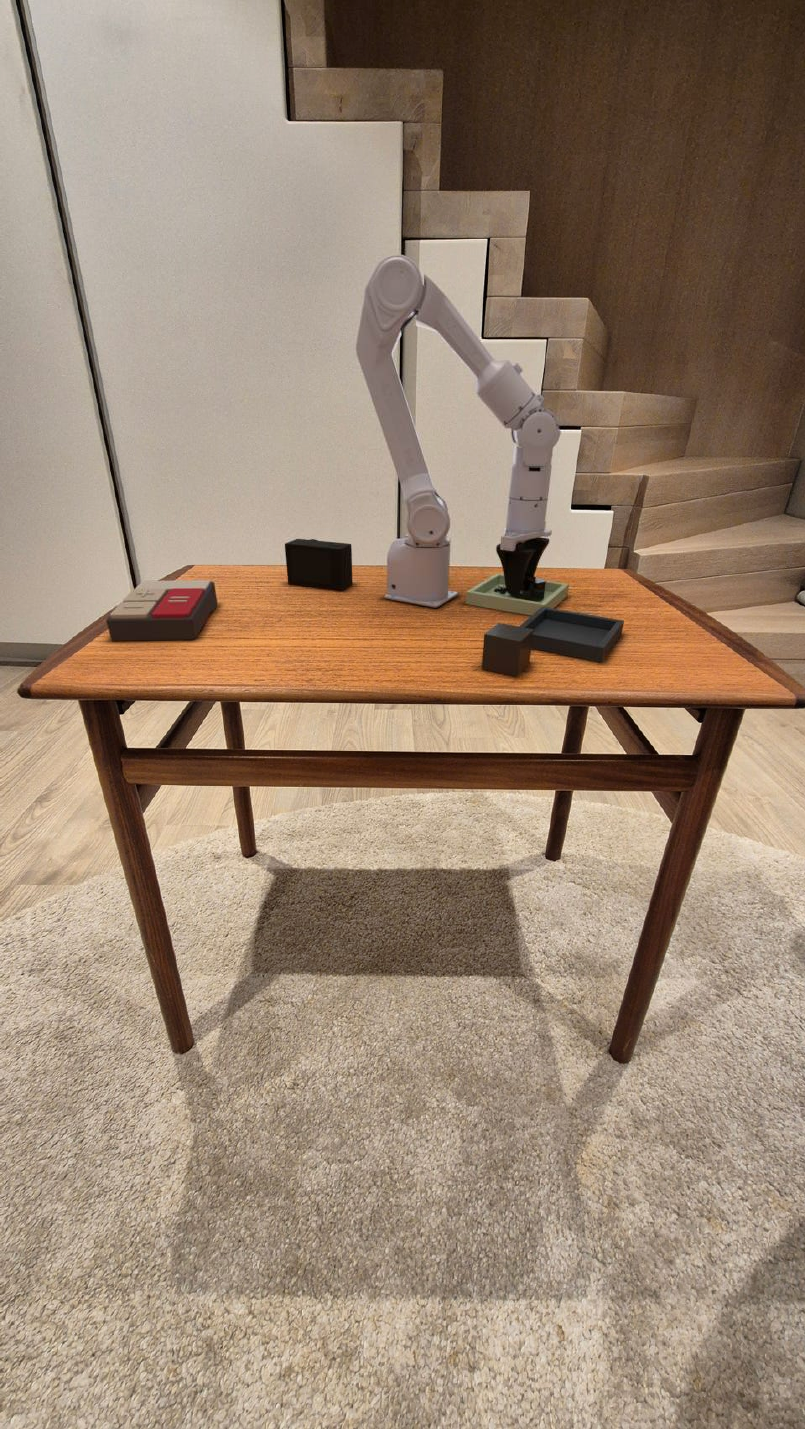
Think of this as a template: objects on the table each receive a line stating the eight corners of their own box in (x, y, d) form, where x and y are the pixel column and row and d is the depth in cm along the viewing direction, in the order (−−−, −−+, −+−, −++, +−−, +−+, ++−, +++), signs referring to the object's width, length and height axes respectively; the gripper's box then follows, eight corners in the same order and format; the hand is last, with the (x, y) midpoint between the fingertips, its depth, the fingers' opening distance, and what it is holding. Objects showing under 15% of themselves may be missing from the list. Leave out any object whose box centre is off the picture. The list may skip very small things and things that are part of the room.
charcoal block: (481, 669, 72) (484, 633, 70) (495, 656, 75) (498, 622, 73) (516, 677, 70) (520, 641, 68) (529, 664, 73) (533, 629, 71)
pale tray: (465, 604, 94) (466, 591, 93) (495, 584, 104) (496, 573, 103) (543, 617, 88) (544, 604, 88) (567, 596, 98) (569, 584, 97)
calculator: (103, 614, 77) (139, 576, 89) (111, 645, 79) (145, 604, 92) (190, 613, 77) (214, 576, 90) (196, 644, 79) (218, 603, 92)
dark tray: (512, 644, 79) (514, 630, 78) (540, 619, 88) (542, 606, 87) (601, 662, 74) (604, 647, 73) (621, 634, 83) (624, 620, 82)
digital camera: (356, 582, 104) (355, 541, 100) (342, 591, 99) (341, 548, 96) (303, 576, 107) (300, 536, 103) (287, 584, 102) (284, 543, 99)
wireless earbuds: (514, 590, 99) (516, 570, 97) (545, 601, 93) (547, 581, 92) (492, 594, 96) (494, 574, 95) (522, 606, 91) (525, 585, 90)
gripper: (538, 507, 81) (527, 604, 88) (568, 494, 92) (557, 580, 99) (490, 502, 84) (483, 596, 91) (525, 490, 95) (516, 574, 102)
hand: (518, 587), depth 95 cm, fingers closed on wireless earbuds, 4 cm apart
